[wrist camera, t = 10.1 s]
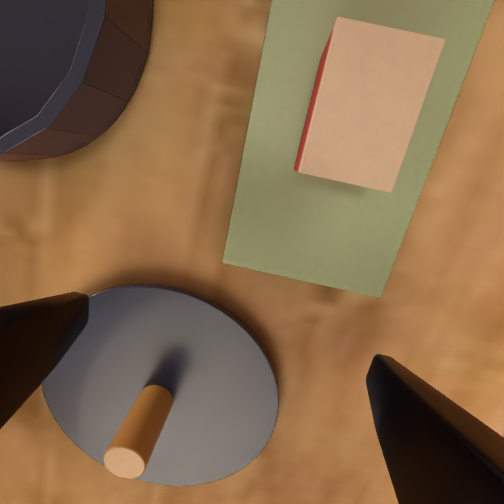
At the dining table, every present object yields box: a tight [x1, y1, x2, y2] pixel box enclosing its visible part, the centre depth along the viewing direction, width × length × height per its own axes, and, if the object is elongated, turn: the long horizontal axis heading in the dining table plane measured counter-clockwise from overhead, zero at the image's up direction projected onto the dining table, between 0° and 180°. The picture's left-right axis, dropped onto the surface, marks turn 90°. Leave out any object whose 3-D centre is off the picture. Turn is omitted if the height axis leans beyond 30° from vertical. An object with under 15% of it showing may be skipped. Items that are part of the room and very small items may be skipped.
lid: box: [41, 284, 279, 486], centre depth 20 cm, size 18×18×6 cm
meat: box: [294, 17, 445, 193], centre depth 13 cm, size 6×4×4 cm
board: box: [222, 0, 495, 298], centre depth 16 cm, size 18×10×2 cm, turn 168°
